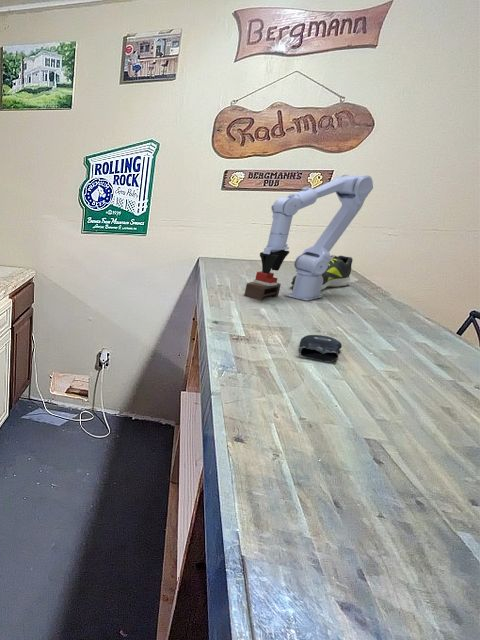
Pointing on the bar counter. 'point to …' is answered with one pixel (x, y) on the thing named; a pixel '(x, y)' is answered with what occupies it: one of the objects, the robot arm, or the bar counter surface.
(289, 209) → the robot arm
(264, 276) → the shoe
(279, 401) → the bar counter surface
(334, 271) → the running shoe
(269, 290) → the box
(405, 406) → the bar counter surface
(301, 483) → the bar counter surface
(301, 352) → the electronic device
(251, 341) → the bar counter surface
